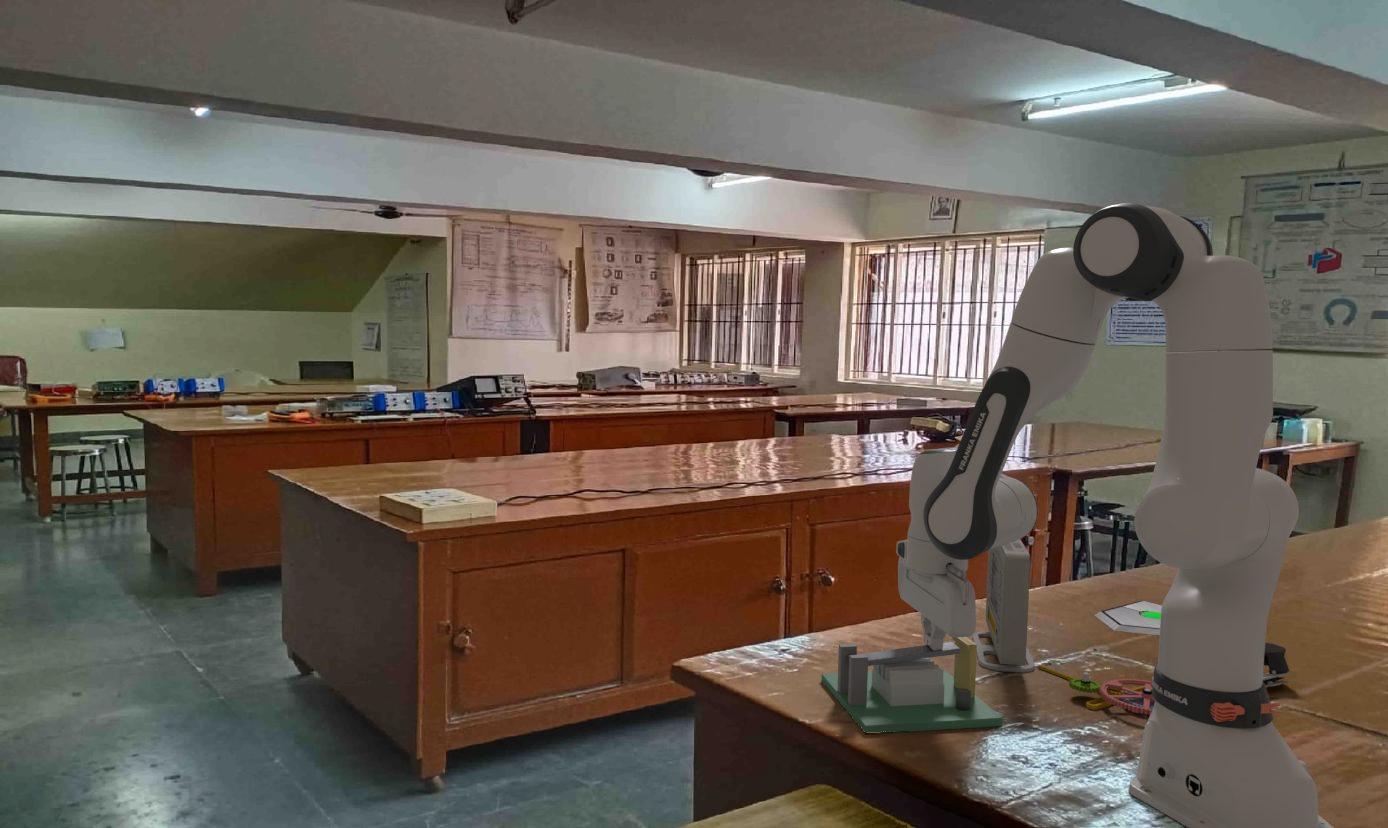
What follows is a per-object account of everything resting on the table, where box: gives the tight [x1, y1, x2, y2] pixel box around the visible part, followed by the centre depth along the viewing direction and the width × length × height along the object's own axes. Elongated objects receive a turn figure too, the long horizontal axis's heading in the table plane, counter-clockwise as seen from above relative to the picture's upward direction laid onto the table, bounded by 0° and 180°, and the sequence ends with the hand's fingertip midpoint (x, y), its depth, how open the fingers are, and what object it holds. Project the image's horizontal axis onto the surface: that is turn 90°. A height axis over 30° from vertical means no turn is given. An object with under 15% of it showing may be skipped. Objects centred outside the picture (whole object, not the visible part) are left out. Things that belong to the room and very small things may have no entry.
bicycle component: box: [1262, 642, 1291, 688], centre depth 152 cm, size 12×7×15 cm
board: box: [821, 637, 1003, 733], centre depth 142 cm, size 20×20×9 cm
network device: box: [972, 539, 1036, 673], centre depth 164 cm, size 26×9×20 cm, turn 168°
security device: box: [1093, 600, 1162, 636], centre depth 184 cm, size 17×22×2 cm
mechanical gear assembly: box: [1037, 664, 1155, 716], centre depth 145 cm, size 30×4×15 cm
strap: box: [846, 641, 960, 667], centre depth 142 cm, size 3×16×1 cm, turn 100°
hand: (933, 647), depth 143 cm, fingers closed, pressing on strap
